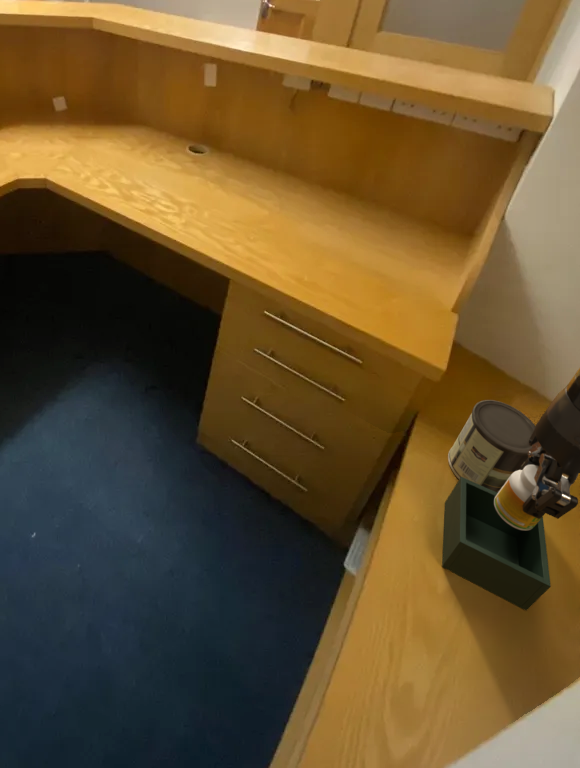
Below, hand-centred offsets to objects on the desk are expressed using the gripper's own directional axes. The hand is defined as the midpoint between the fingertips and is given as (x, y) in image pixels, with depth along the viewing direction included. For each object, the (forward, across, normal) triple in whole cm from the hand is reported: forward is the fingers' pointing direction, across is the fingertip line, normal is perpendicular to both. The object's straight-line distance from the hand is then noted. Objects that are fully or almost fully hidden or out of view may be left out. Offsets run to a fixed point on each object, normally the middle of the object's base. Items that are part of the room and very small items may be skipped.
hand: (528, 493), depth 75 cm
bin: (+18, 0, 0) cm, 18 cm away
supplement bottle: (+6, 0, 0) cm, 6 cm away
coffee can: (+19, +16, +1) cm, 24 cm away
